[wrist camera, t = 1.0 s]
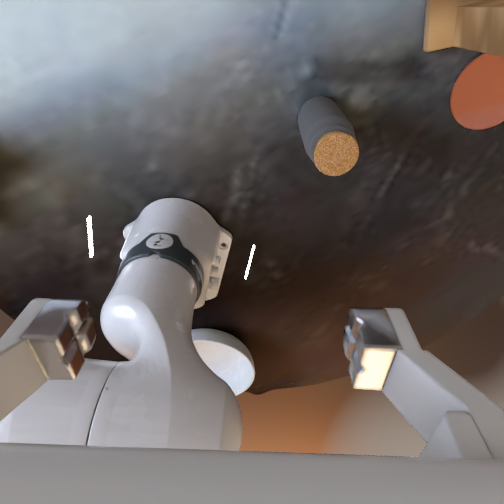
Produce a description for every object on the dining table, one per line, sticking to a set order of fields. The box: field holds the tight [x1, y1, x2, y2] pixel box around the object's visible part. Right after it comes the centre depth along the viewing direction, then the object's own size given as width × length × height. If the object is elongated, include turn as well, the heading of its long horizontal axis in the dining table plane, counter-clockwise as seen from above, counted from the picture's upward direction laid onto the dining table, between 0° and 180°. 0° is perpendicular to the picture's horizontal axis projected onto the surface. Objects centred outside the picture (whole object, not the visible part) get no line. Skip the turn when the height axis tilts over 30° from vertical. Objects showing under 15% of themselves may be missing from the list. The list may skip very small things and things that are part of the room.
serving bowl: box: [192, 328, 255, 396], centre depth 75 cm, size 21×21×7 cm
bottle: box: [298, 96, 359, 176], centre depth 43 cm, size 6×6×15 cm
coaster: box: [450, 53, 504, 129], centre depth 46 cm, size 10×10×1 cm
